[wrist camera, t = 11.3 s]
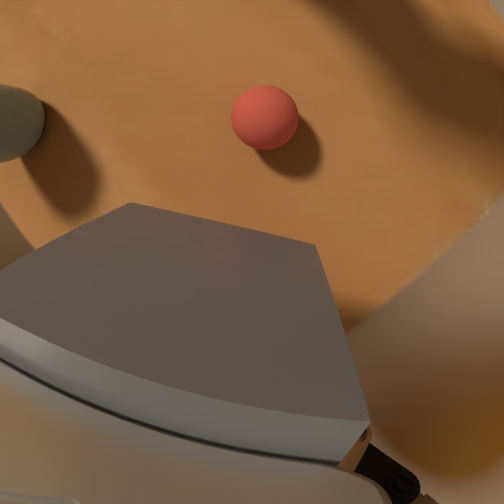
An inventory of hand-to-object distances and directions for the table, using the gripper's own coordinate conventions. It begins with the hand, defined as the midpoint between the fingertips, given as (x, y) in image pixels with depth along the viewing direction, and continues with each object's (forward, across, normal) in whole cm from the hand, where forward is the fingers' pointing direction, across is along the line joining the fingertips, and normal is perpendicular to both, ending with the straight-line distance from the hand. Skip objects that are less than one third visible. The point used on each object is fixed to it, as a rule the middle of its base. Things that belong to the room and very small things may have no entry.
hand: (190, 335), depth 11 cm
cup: (+17, +25, -6) cm, 31 cm away
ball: (+15, 0, -9) cm, 17 cm away
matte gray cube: (+2, 0, 0) cm, 2 cm away
